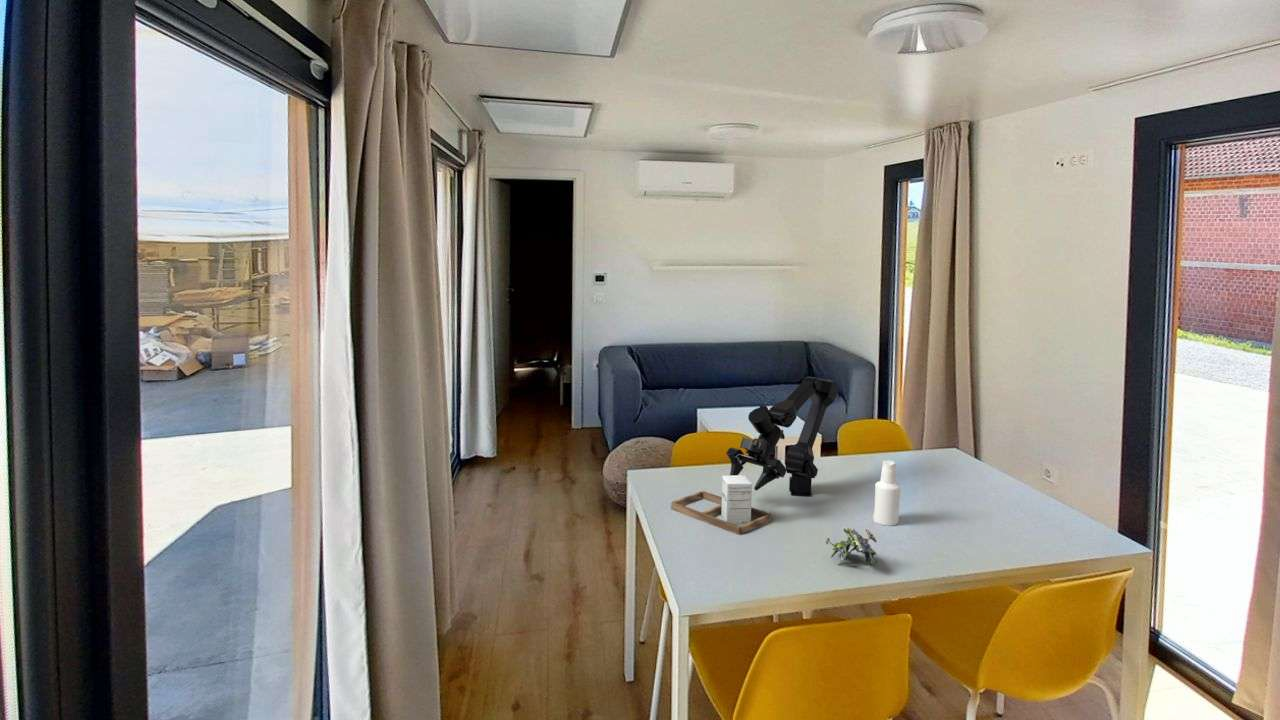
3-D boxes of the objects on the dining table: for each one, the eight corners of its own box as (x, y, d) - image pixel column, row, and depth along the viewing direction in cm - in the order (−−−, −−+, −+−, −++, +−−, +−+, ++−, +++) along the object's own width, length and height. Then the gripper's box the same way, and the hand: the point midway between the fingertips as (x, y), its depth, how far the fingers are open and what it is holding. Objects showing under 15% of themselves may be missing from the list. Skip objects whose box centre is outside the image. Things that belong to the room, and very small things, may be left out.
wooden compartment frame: (702, 496, 219) (702, 490, 219) (772, 520, 200) (772, 514, 200) (669, 508, 209) (669, 502, 209) (740, 535, 190) (740, 528, 189)
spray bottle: (897, 518, 202) (901, 460, 199) (898, 527, 195) (902, 466, 193) (873, 515, 204) (876, 457, 201) (872, 524, 198) (876, 464, 195)
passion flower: (866, 584, 174) (891, 559, 166) (828, 581, 171) (851, 555, 163) (853, 545, 182) (876, 519, 174) (816, 541, 179) (838, 515, 171)
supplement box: (720, 516, 204) (721, 475, 202) (745, 515, 204) (746, 474, 202) (725, 525, 196) (726, 483, 194) (751, 525, 197) (752, 482, 195)
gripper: (730, 421, 208) (706, 463, 202) (782, 433, 195) (757, 479, 189) (746, 441, 215) (722, 483, 209) (796, 454, 202) (773, 499, 196)
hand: (742, 485), depth 201 cm, fingers open, 9 cm apart
